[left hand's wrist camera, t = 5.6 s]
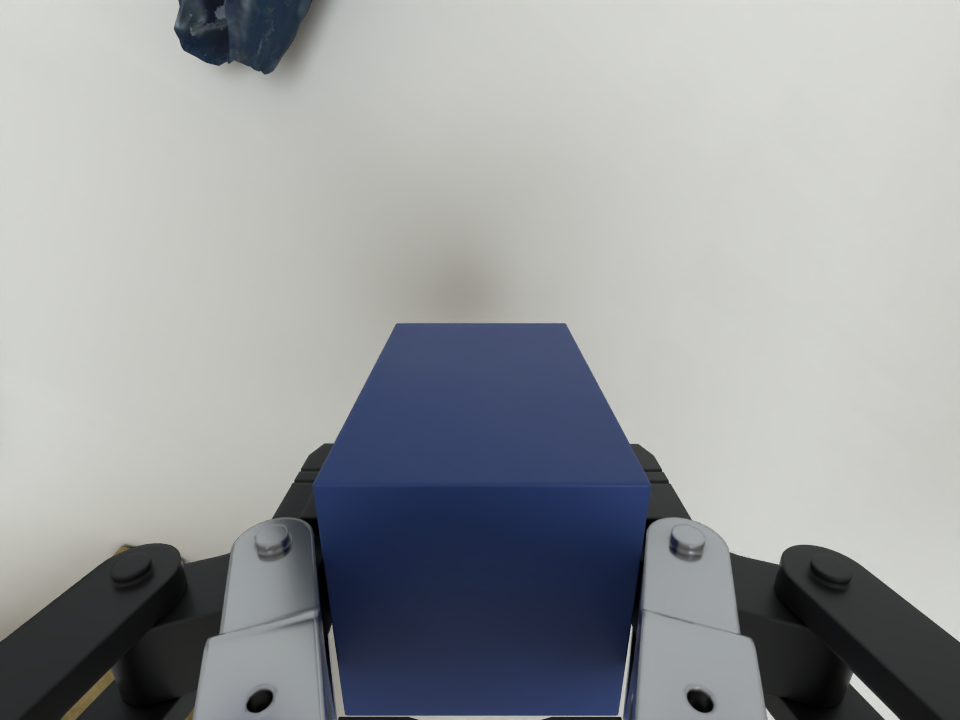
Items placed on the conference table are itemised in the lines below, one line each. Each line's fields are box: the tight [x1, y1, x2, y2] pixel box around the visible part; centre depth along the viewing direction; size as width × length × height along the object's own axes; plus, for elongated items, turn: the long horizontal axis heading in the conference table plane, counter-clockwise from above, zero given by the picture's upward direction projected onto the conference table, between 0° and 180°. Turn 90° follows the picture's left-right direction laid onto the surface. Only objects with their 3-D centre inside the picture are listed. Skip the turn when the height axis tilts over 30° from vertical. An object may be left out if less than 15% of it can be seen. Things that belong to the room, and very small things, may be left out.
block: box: [313, 323, 651, 716], centre depth 12 cm, size 5×5×8 cm
